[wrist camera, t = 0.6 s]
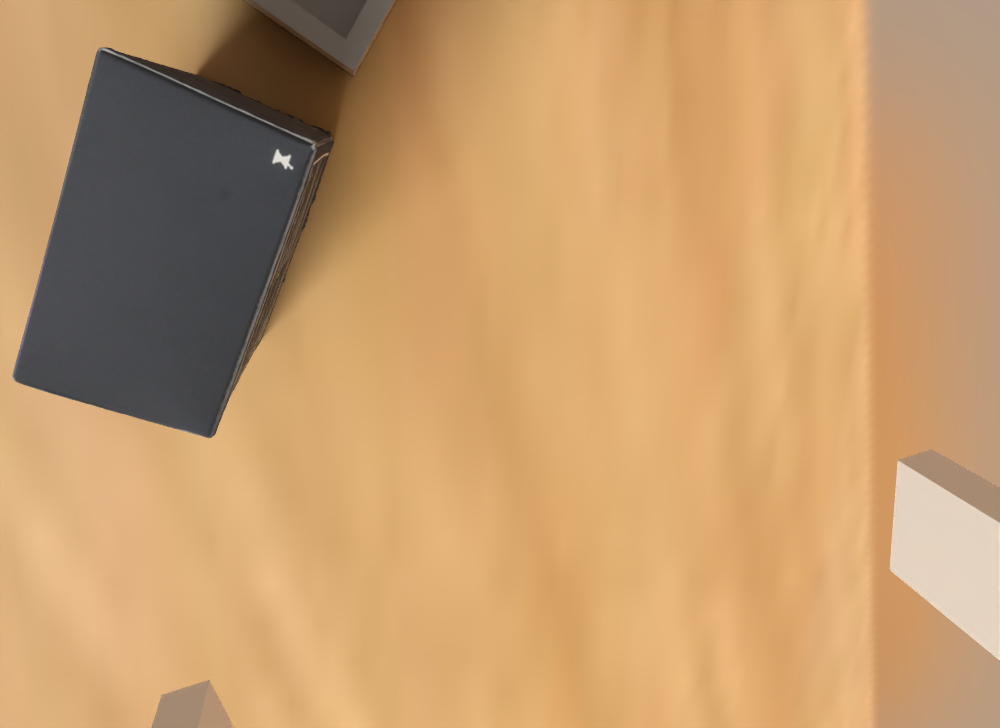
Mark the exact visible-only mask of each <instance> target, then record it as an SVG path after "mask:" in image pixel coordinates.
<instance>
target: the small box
mask: <svg viewBox="0 0 1000 728" xmlns="http://www.w3.org/2000/svg"><path fill="white" fill-rule="evenodd" d="M333 144H334V140H333V138H332V136H331V133H330V132H329V131H326V132H325V131H324V130H323V129H321V128H317V127H315V126H309V125H307V124H305V123H304V122H303V121H302V120H300V119H298V120H297V119H295V118H294V117H293V116H291V115H286V114H283V113H281V112H280V111H278V110H274V109H272V108H271V107H268V106H266V105H264V104H262V103H261V102H260V101H256V100H253V99H251V98H249V97H247V96H244V95H242V94H241V92H240V91H238V90H235V89H232V88H231V87H229V86H225V85H223V84H220V83H217V82H215V81H211V80H209V79H206V78H204V77H202V76H199V75H195V74H192V73H188V72H184V71H181V70H178V69H174V68H171V67H167V66H164V65H160V64H157V63H154V62H151V61H148V60H143V59H141V58H138V57H134V56H130V55H127V54H124V53H120V52H117V51H115V50H113V49H112V48H99V49H98V51H97V54H96V57H95V61H94V66H93V69H92V73H91V78H90V81H89V84H88V88H87V92H86V96H85V100H84V105H83V109H82V113H81V117H80V120H79V124H78V128H77V132H76V136H75V140H74V144H73V148H72V152H71V156H70V160H69V164H68V168H67V171H66V175H65V179H64V183H63V187H62V191H61V195H60V199H59V203H58V207H57V211H56V214H55V218H54V222H53V226H52V230H51V234H50V237H49V241H48V245H47V249H46V252H45V256H44V260H43V264H42V268H41V271H40V275H39V279H38V283H37V286H36V290H35V294H34V298H33V302H32V305H31V309H30V313H29V316H28V320H27V324H26V327H25V331H24V334H23V338H22V342H21V346H20V349H19V353H18V357H17V360H16V364H15V368H14V372H13V380H15V381H16V382H17V383H21V384H24V385H27V386H30V387H33V388H35V389H38V390H42V391H45V392H48V393H51V394H55V395H59V396H62V397H66V398H69V399H72V400H76V401H80V402H83V403H86V404H90V405H94V406H97V407H100V408H103V409H106V410H110V411H114V412H118V413H121V414H126V415H129V416H132V417H136V418H139V419H143V420H146V421H149V422H153V423H157V424H160V425H163V426H167V427H170V428H174V429H178V430H182V431H185V432H189V433H192V434H196V435H200V436H204V437H207V438H211V437H213V436H214V435H215V433H216V431H217V428H218V425H219V422H220V420H221V417H222V415H223V412H224V410H225V408H226V405H227V403H228V401H229V398H230V396H231V394H232V392H233V390H234V389H235V386H236V384H237V383H238V381H239V379H240V376H241V375H242V373H243V371H244V369H245V367H246V365H247V363H248V362H249V359H250V358H251V356H252V354H253V352H254V351H255V350H256V348H257V346H258V345H259V343H260V342H261V339H262V336H263V333H264V331H265V328H266V325H267V323H268V321H269V318H270V315H271V312H272V310H273V307H274V304H275V302H276V299H277V296H278V293H279V291H280V288H281V286H282V283H283V282H284V280H285V275H286V272H287V270H288V266H289V264H290V262H291V259H292V256H293V253H294V250H295V247H296V245H297V243H298V240H299V237H300V234H301V232H302V230H303V228H304V227H305V223H306V221H307V216H308V215H309V211H310V207H311V205H312V203H313V201H314V200H315V197H316V191H317V189H318V186H319V183H320V180H321V176H322V173H323V171H324V168H325V165H326V162H327V159H328V156H329V153H330V151H331V148H332V146H333Z"/></svg>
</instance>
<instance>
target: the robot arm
mask: <svg viewBox="0 0 1000 728" xmlns="http://www.w3.org/2000/svg"><path fill="white" fill-rule="evenodd" d="M890 571H892V572H893V573H894V574H895V575H897V576H898V577H899V578H900V579H902V580H903V581H904V582H905V583H906V584H907V585H909V586H910V587H911V588H912V589H913V590H915V591H916V592H917V593H918V594H920V595H921V596H922V597H923V598H924V599H926V600H927V601H928V602H930V603H931V604H932V605H933V606H934V607H935V608H937V609H938V610H939V611H940V612H941V613H943V614H944V615H945V616H946V617H947V618H949V619H950V620H951V621H952V622H954V623H955V624H956V625H957V626H958V627H960V628H961V629H962V630H963V631H965V632H966V633H967V634H968V635H969V636H971V637H972V638H973V639H974V640H975V641H977V642H978V643H979V644H980V645H982V646H983V647H984V648H985V649H986V650H988V651H989V652H990V653H991V654H992V655H994V656H995V657H996V658H997V659H998V660H1000V487H998V486H996V485H994V484H992V483H991V482H989V481H987V480H985V479H983V478H982V477H980V476H978V475H976V474H975V473H972V472H971V471H969V470H967V469H966V468H964V467H962V466H960V465H958V464H957V463H955V462H953V461H951V460H950V459H948V458H946V457H944V456H942V455H940V454H939V453H937V452H935V451H934V450H929V451H926V452H922V453H919V454H916V455H913V456H910V457H907V458H904V459H901V460H898V465H897V479H896V491H895V505H894V519H893V532H892V546H891V559H890ZM152 728H234V726H233V724H232V723H231V721H230V719H229V717H228V715H227V713H226V711H225V709H224V707H223V705H222V703H221V701H220V699H219V698H218V696H217V694H216V692H215V690H214V688H213V686H212V684H211V682H210V680H208V681H205V682H201V683H198V684H195V685H192V686H189V687H186V688H183V689H179V690H176V691H173V692H170V693H167V694H164V695H162V696H161V699H160V702H159V706H158V709H157V712H156V715H155V718H154V721H153V725H152Z"/></svg>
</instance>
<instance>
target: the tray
mask: <svg viewBox="0 0 1000 728" xmlns="http://www.w3.org/2000/svg"><path fill="white" fill-rule="evenodd" d="M244 1H245V2H247V3H248V4H250V5H251V6H253V7H254V8H256V9H257V10H258V11H260V12H261V13H263V14H264V15H266V16H267V17H268V18H270V19H271V20H273V21H274V22H276V23H277V24H279V25H280V26H281V27H283V28H284V29H286V30H287V31H289V32H290V33H292V34H293V35H294V36H296V37H297V38H299V39H300V40H302V41H303V42H304V43H306V44H307V45H309V46H310V47H312V48H313V49H315V50H316V51H317V52H319V53H320V54H322V55H323V56H325V57H326V58H328V59H329V60H330V61H332V62H333V63H335V64H336V65H338V66H339V67H340V68H342V69H343V70H345V71H346V72H348V73H349V74H351V75H352V76H353V77H354V76H355V74H356V72H357V71H358V69H359V67H360V65H361V63H362V62H363V60H364V58H365V56H366V54H367V53H368V51H369V49H370V47H371V45H372V44H373V42H374V40H375V38H376V36H377V34H378V33H379V31H380V29H381V27H382V25H383V24H384V22H385V20H386V18H387V16H388V15H389V13H390V11H391V9H392V7H393V6H394V4H395V2H396V0H244Z"/></svg>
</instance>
